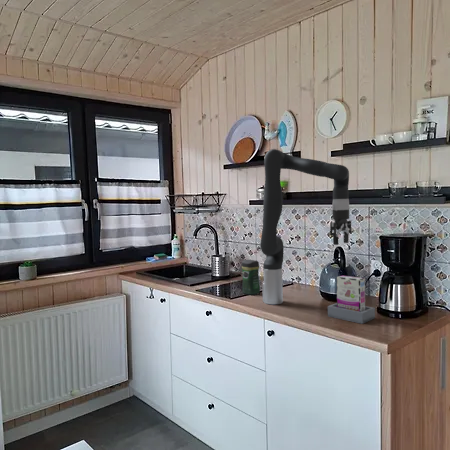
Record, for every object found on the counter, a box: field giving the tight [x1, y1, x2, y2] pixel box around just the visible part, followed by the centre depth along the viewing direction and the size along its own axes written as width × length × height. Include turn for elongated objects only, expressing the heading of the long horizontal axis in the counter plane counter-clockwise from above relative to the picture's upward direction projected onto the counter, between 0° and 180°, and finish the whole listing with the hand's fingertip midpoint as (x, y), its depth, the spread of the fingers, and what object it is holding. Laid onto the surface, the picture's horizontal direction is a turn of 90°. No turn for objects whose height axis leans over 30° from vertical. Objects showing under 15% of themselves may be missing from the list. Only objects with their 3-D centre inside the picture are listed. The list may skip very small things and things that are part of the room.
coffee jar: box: [241, 259, 261, 295], centre depth 228 cm, size 10×8×19 cm
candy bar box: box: [336, 275, 366, 312], centre depth 179 cm, size 11×5×16 cm, turn 44°
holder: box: [327, 302, 376, 325], centre depth 179 cm, size 16×10×4 cm, turn 43°
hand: (341, 243), depth 193 cm, fingers open, 8 cm apart
